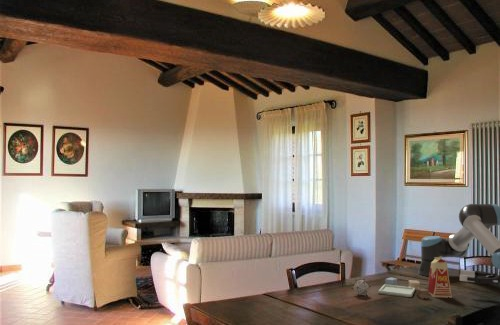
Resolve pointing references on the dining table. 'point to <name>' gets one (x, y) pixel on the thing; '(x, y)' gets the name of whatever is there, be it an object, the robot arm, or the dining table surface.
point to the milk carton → (439, 279)
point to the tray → (397, 290)
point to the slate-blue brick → (391, 281)
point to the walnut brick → (422, 293)
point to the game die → (361, 287)
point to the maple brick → (414, 284)
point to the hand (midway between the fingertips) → (460, 275)
